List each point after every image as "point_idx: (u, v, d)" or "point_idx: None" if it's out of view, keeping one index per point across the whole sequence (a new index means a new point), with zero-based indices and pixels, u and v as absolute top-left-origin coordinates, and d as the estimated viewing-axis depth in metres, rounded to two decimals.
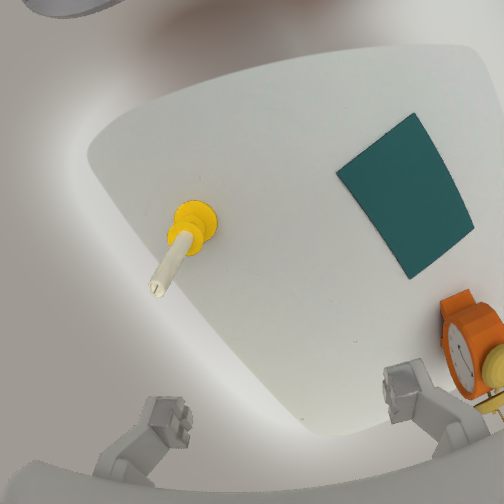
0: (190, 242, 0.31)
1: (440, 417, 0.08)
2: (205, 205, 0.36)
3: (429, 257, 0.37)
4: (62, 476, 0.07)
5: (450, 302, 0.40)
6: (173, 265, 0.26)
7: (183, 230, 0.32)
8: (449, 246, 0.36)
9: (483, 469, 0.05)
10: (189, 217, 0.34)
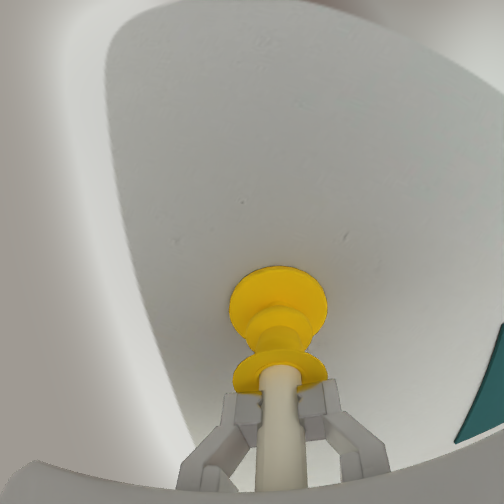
0: None
1: (344, 443, 0.08)
2: (322, 294, 0.16)
3: (485, 428, 0.23)
4: (62, 476, 0.07)
5: None
6: None
7: (290, 366, 0.12)
8: None
9: (483, 469, 0.05)
10: (293, 317, 0.14)
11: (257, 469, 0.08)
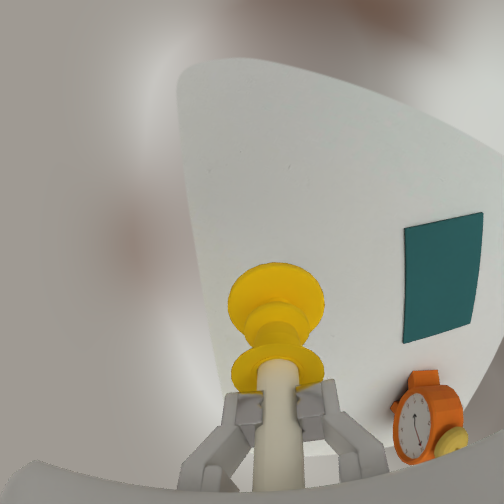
0: None
1: (343, 443, 0.08)
2: (321, 296, 0.16)
3: (427, 331, 0.40)
4: (62, 476, 0.07)
5: (420, 375, 0.43)
6: None
7: (290, 362, 0.12)
8: (446, 329, 0.39)
9: (483, 469, 0.05)
10: (294, 314, 0.14)
11: (256, 459, 0.08)
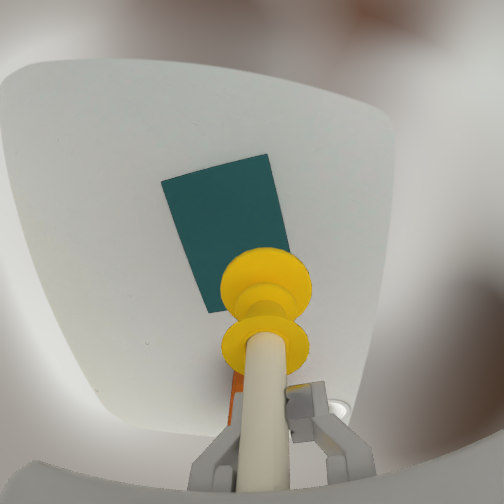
0: None
1: (331, 445, 0.08)
2: (300, 313, 0.18)
3: None
4: (62, 476, 0.07)
5: None
6: None
7: (286, 347, 0.13)
8: None
9: (483, 469, 0.05)
10: (292, 312, 0.16)
11: (262, 415, 0.09)
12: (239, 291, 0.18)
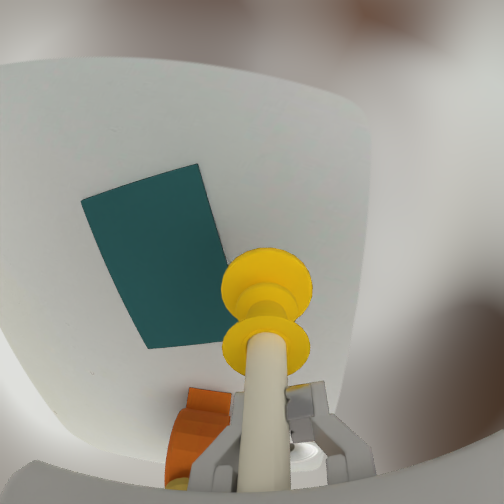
0: None
1: (331, 445, 0.08)
2: (300, 313, 0.18)
3: (174, 339, 0.33)
4: (62, 476, 0.07)
5: (199, 395, 0.36)
6: None
7: (287, 348, 0.13)
8: (205, 340, 0.32)
9: (483, 469, 0.05)
10: (293, 313, 0.16)
11: (263, 415, 0.09)
12: (240, 291, 0.18)
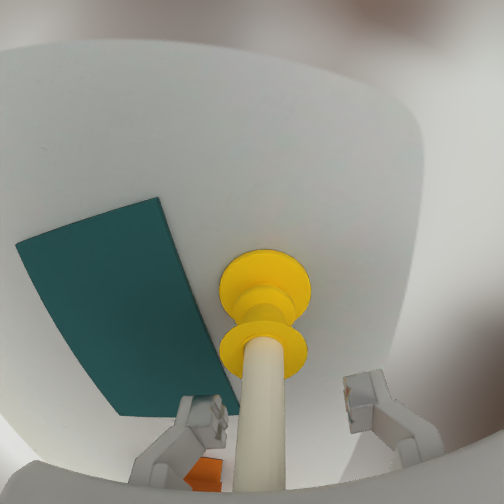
0: None
1: (396, 431, 0.08)
2: (299, 315, 0.18)
3: (149, 410, 0.24)
4: (62, 476, 0.07)
5: None
6: None
7: (284, 352, 0.13)
8: None
9: (483, 469, 0.05)
10: (291, 315, 0.16)
11: (259, 422, 0.09)
12: (238, 293, 0.18)
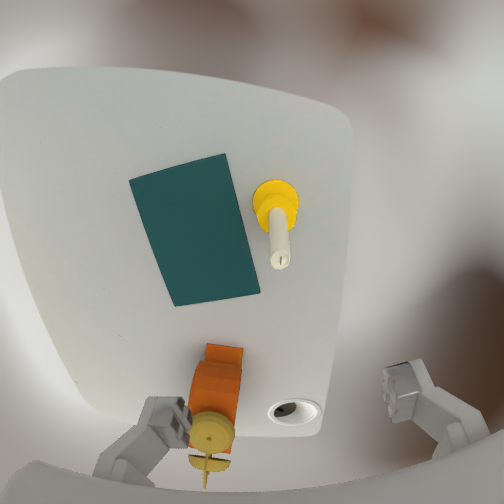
0: None
1: (440, 417, 0.08)
2: None
3: (198, 295, 0.41)
4: (62, 476, 0.07)
5: (216, 349, 0.45)
6: None
7: (286, 215, 0.31)
8: (224, 296, 0.41)
9: (483, 469, 0.05)
10: None
11: (277, 223, 0.27)
12: (262, 201, 0.35)
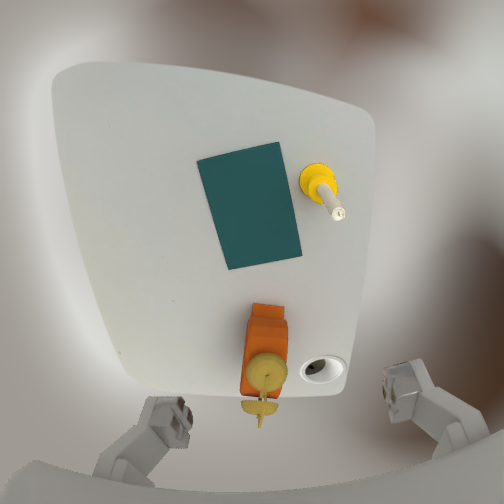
0: None
1: (440, 417, 0.08)
2: None
3: (250, 259, 0.50)
4: (62, 476, 0.07)
5: (261, 308, 0.54)
6: None
7: (330, 189, 0.40)
8: (272, 259, 0.50)
9: (483, 469, 0.05)
10: None
11: (329, 192, 0.36)
12: (307, 180, 0.44)
